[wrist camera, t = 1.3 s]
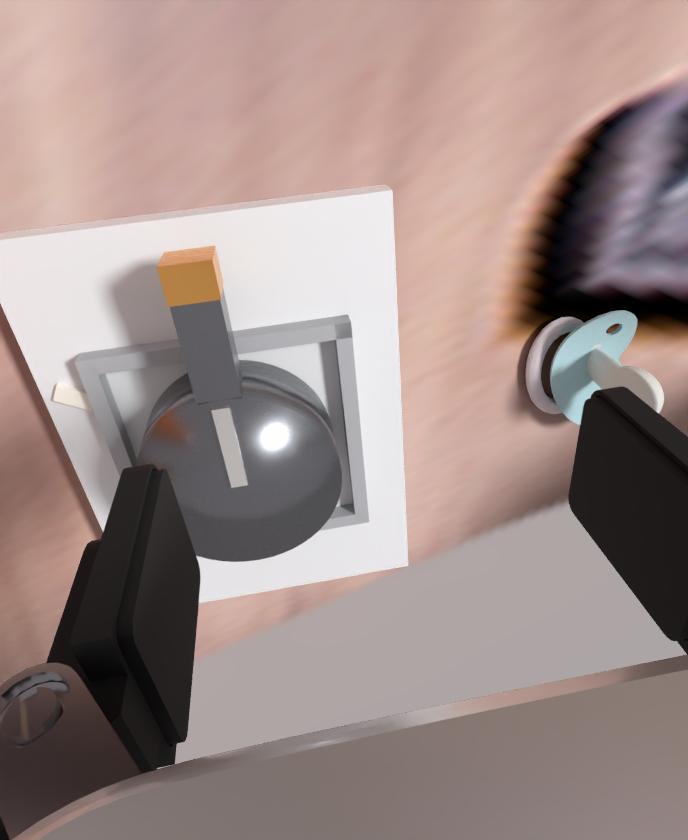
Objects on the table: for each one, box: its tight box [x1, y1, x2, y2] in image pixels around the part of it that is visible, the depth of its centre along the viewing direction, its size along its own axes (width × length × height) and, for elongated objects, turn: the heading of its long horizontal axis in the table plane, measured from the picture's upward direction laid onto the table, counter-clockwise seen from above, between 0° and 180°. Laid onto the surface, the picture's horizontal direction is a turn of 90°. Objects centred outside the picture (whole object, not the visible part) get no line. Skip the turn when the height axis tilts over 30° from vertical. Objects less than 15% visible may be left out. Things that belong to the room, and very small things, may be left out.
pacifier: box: [525, 310, 664, 425], centre depth 30 cm, size 7×6×6 cm
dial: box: [135, 246, 342, 562], centre depth 27 cm, size 16×10×4 cm, turn 5°
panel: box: [0, 184, 408, 603], centre depth 31 cm, size 18×24×3 cm
